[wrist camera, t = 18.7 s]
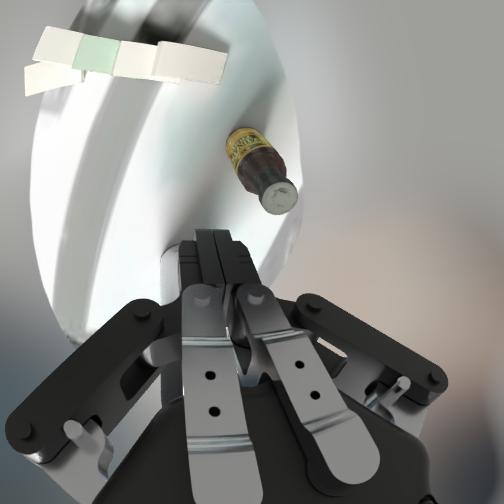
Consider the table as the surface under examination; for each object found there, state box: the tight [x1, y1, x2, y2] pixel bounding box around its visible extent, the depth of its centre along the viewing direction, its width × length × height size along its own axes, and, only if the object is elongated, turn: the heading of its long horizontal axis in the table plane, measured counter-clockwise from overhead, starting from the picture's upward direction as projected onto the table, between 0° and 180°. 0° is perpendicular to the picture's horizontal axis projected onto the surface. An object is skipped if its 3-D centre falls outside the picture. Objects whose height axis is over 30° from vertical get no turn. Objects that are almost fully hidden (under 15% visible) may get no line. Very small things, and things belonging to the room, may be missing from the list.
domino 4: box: [110, 41, 181, 84], centre depth 31 cm, size 5×2×10 cm
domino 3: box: [71, 35, 138, 79], centre depth 29 cm, size 5×2×10 cm
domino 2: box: [25, 62, 84, 96], centre depth 29 cm, size 5×2×10 cm
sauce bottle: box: [226, 127, 298, 215], centre depth 38 cm, size 6×6×20 cm
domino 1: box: [32, 26, 92, 72], centre depth 26 cm, size 5×2×10 cm
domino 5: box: [150, 41, 228, 85], centre depth 33 cm, size 5×2×10 cm
